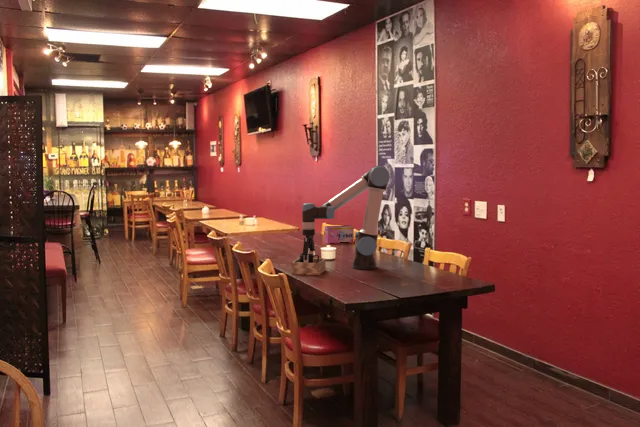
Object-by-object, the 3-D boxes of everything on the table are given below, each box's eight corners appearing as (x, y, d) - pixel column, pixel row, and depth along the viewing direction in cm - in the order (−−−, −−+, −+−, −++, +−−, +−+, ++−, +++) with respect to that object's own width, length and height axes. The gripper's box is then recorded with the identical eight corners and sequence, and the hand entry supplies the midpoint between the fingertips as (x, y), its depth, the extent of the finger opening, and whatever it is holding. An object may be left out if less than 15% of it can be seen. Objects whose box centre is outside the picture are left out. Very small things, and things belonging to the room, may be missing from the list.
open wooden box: (325, 269, 366) (325, 258, 365) (319, 275, 349) (319, 263, 349) (299, 268, 370) (298, 257, 369) (291, 274, 353) (291, 262, 352)
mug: (320, 270, 357) (320, 255, 357) (301, 271, 355) (301, 256, 354) (317, 268, 365) (317, 253, 365) (298, 269, 363) (298, 253, 362)
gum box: (351, 241, 491) (352, 225, 490) (355, 242, 484) (355, 226, 482) (324, 242, 484) (324, 226, 483) (327, 243, 476) (327, 227, 475)
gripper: (307, 226, 370) (307, 259, 372) (297, 231, 346) (297, 266, 348) (319, 226, 368) (319, 260, 370) (309, 231, 344) (309, 267, 346)
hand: (308, 263), depth 359 cm, fingers open, 13 cm apart
